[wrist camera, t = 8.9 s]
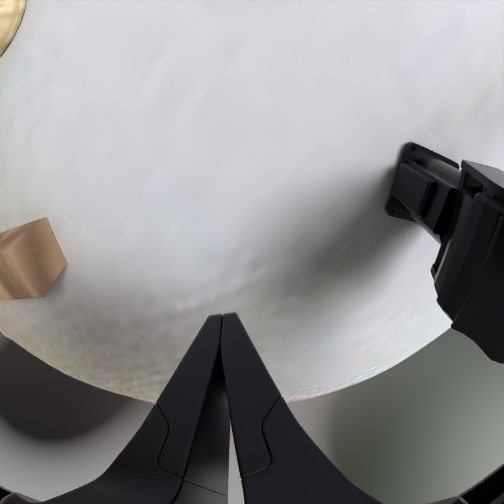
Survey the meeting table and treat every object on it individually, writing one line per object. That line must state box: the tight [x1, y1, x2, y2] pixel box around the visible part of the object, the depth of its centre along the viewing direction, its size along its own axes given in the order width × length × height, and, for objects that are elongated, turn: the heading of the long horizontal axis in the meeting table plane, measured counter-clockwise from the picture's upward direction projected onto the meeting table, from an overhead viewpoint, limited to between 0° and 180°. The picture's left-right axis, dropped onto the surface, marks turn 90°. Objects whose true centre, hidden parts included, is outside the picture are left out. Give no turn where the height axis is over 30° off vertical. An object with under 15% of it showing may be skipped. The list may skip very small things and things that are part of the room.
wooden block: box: [0, 217, 67, 300], centre depth 19 cm, size 5×5×13 cm
